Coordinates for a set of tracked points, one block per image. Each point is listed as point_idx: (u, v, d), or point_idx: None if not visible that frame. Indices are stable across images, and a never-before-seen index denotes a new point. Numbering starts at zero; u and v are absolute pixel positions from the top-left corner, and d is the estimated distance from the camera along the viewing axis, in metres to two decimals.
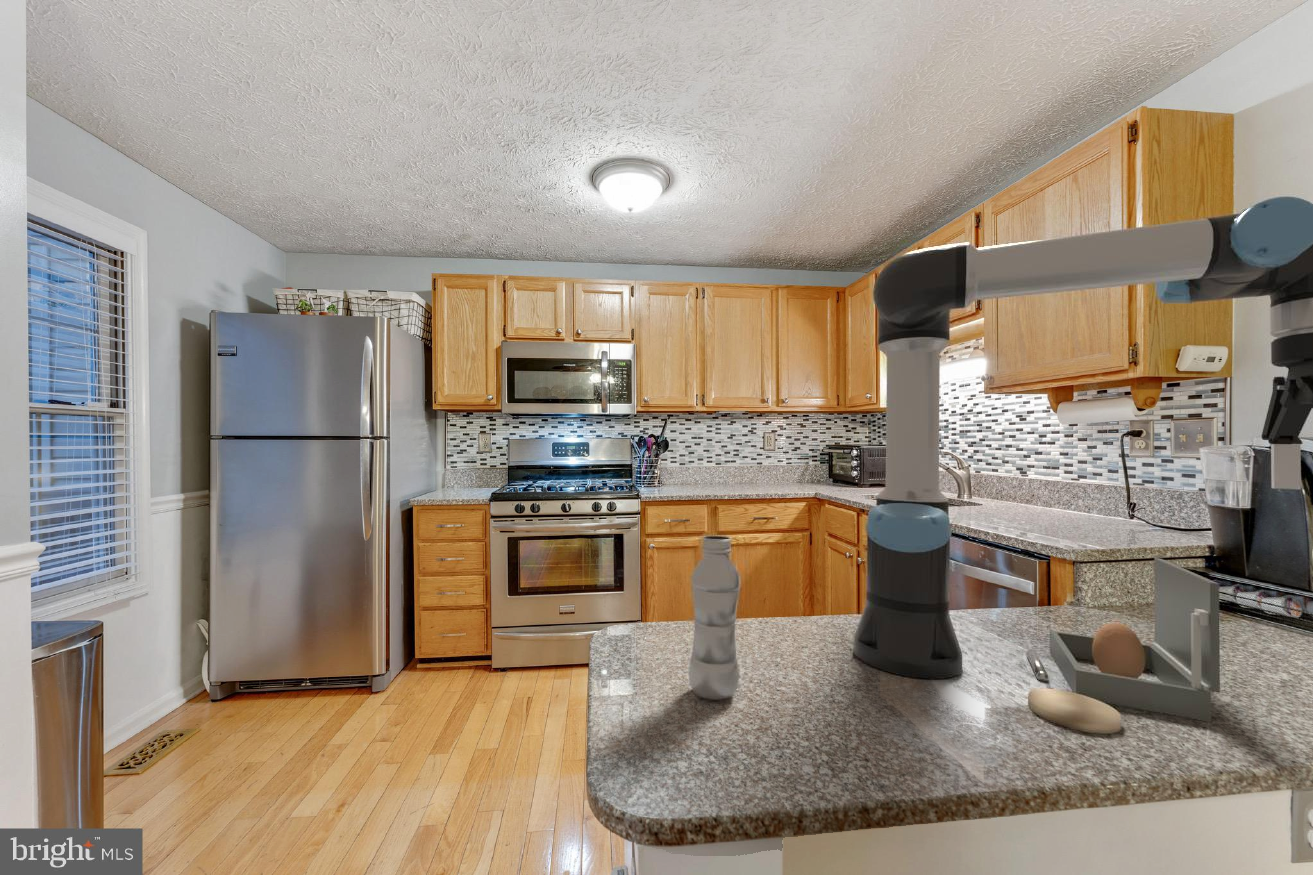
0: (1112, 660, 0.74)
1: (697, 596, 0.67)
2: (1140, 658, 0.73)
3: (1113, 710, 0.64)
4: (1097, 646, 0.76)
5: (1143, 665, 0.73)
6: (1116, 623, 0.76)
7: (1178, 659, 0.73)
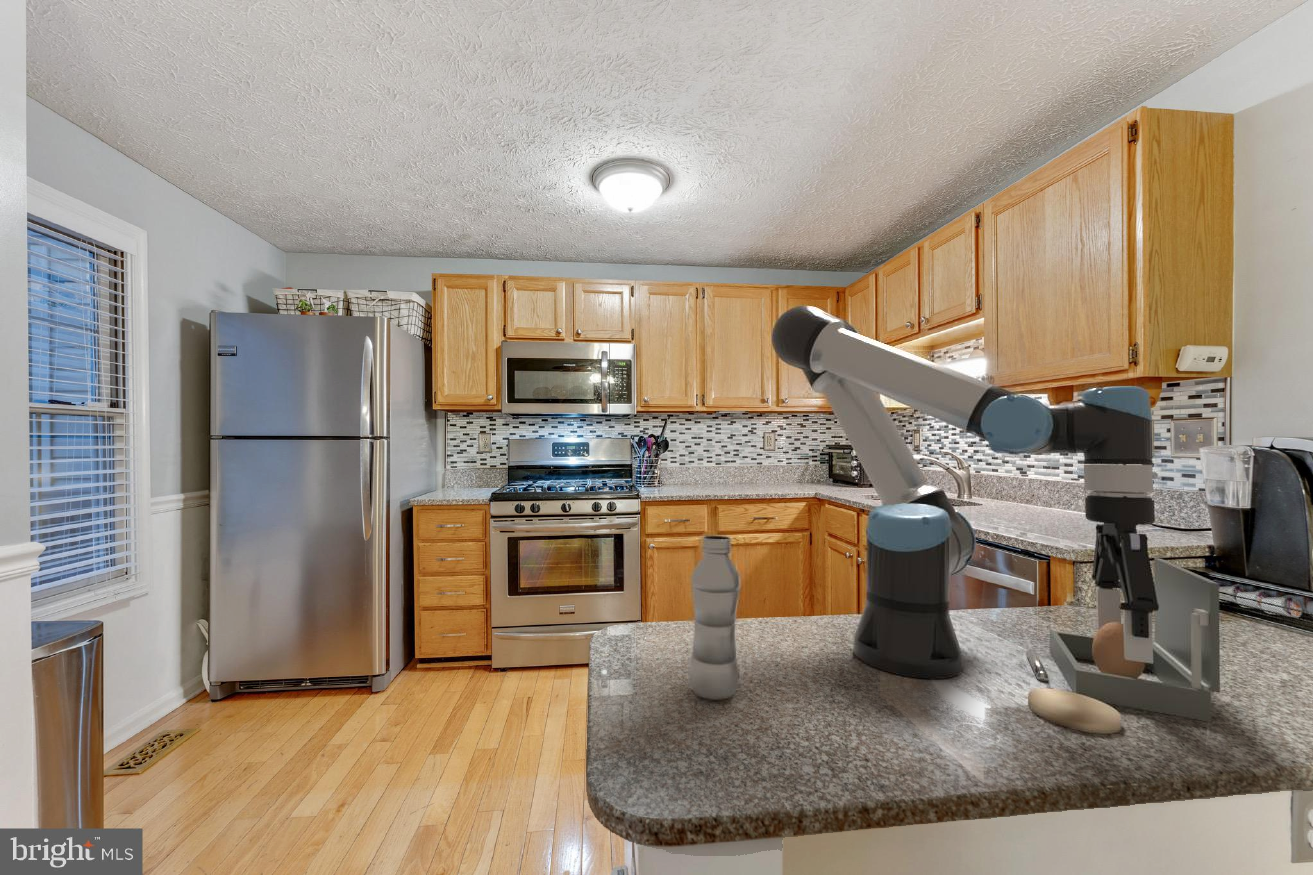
0: (1112, 660, 0.74)
1: (697, 596, 0.67)
2: None
3: (1113, 710, 0.64)
4: (1097, 646, 0.76)
5: (1143, 665, 0.73)
6: (1116, 623, 0.76)
7: (1178, 659, 0.73)
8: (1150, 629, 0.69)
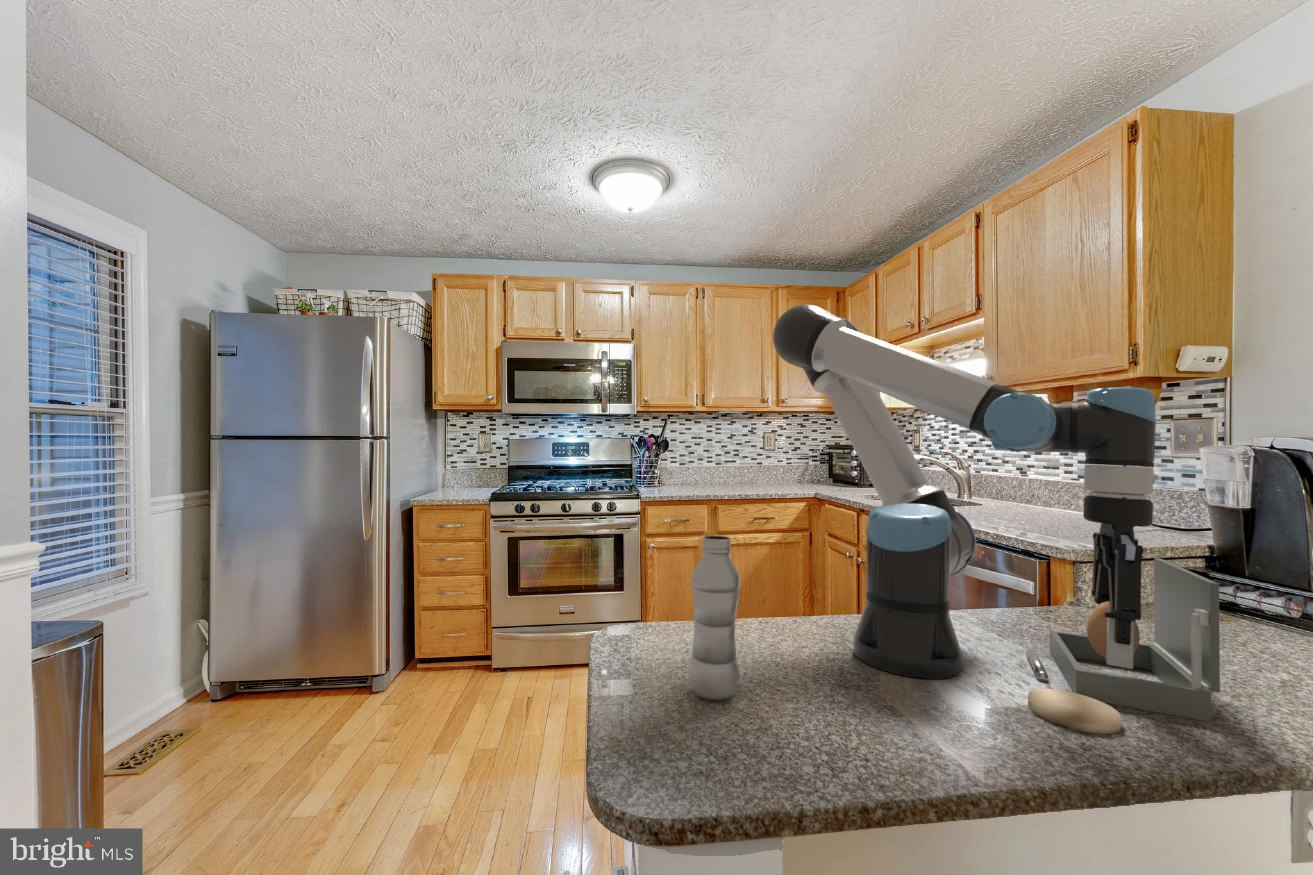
0: (1106, 638, 0.75)
1: (697, 596, 0.67)
2: (1134, 636, 0.74)
3: (1113, 710, 0.64)
4: (1092, 625, 0.77)
5: (1137, 643, 0.74)
6: None
7: (1178, 659, 0.73)
8: (1132, 637, 0.73)
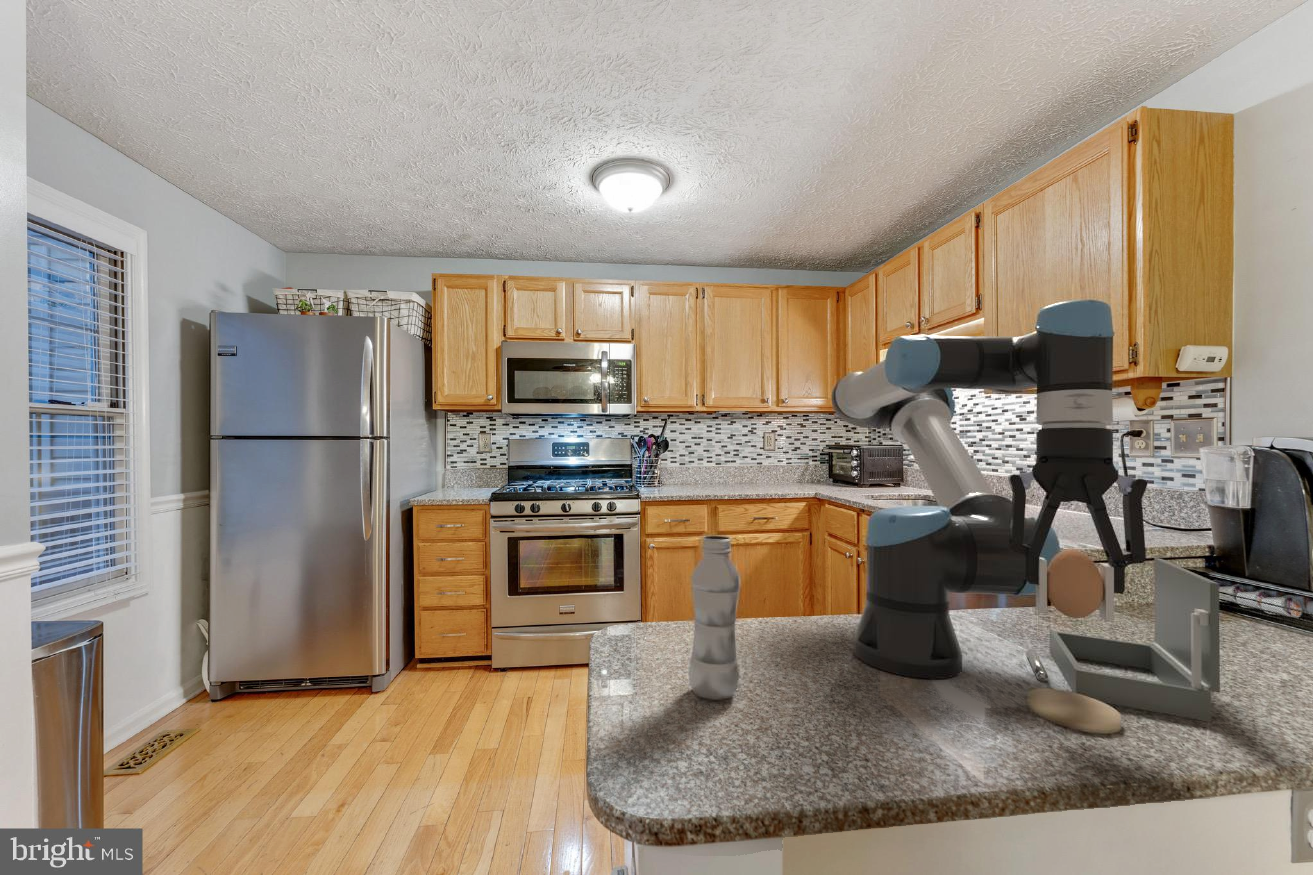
0: None
1: (697, 596, 0.67)
2: (1054, 582, 0.65)
3: (1113, 710, 0.64)
4: None
5: (1061, 592, 0.65)
6: (1069, 549, 0.66)
7: (1178, 659, 0.73)
8: (1039, 578, 0.67)
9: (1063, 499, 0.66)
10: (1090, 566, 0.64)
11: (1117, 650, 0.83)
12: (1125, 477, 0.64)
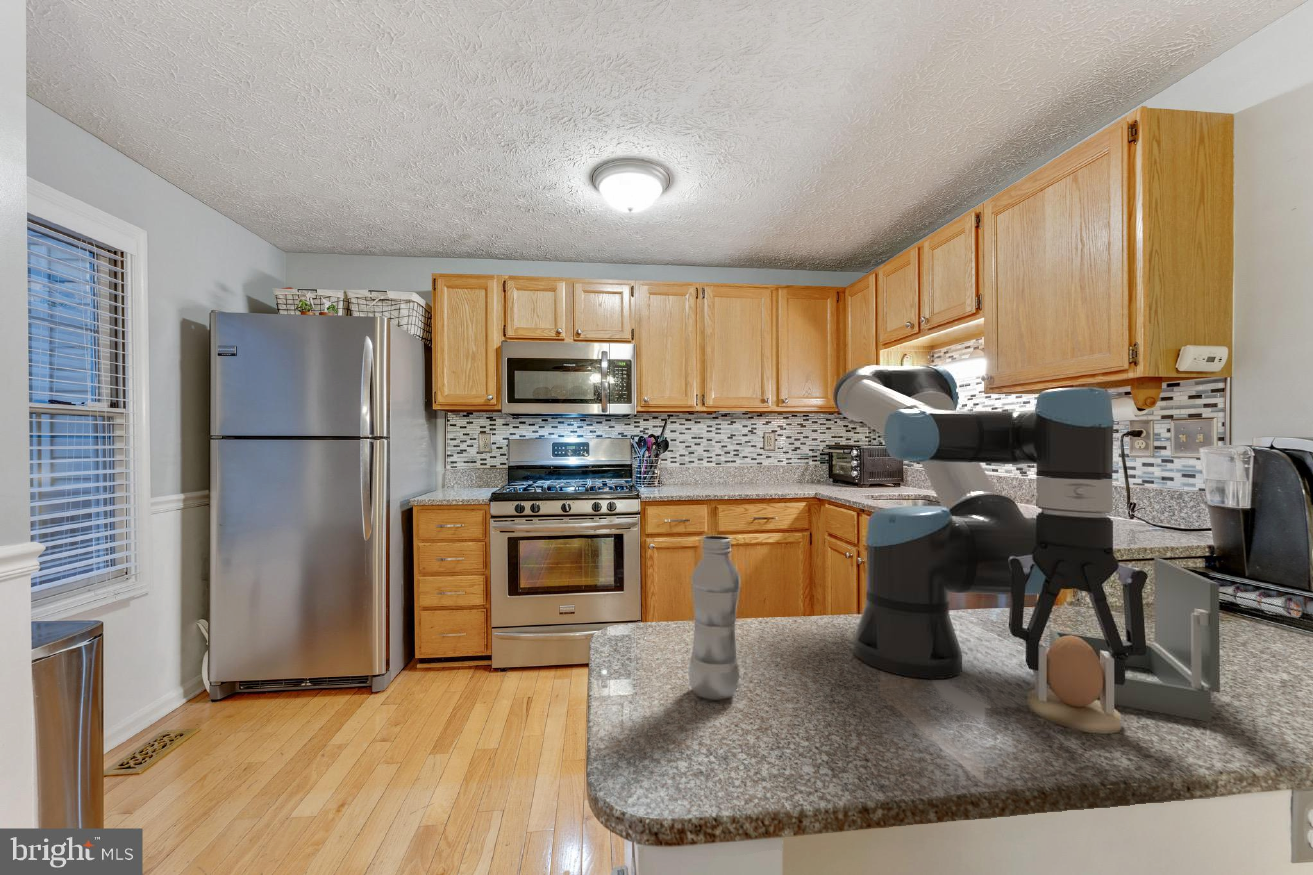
0: None
1: (697, 596, 0.67)
2: (1054, 670, 0.65)
3: None
4: None
5: (1061, 681, 0.64)
6: (1070, 635, 0.66)
7: (1178, 659, 0.73)
8: (1038, 664, 0.66)
9: (1063, 586, 0.66)
10: (1090, 656, 0.64)
11: None
12: (1125, 567, 0.63)
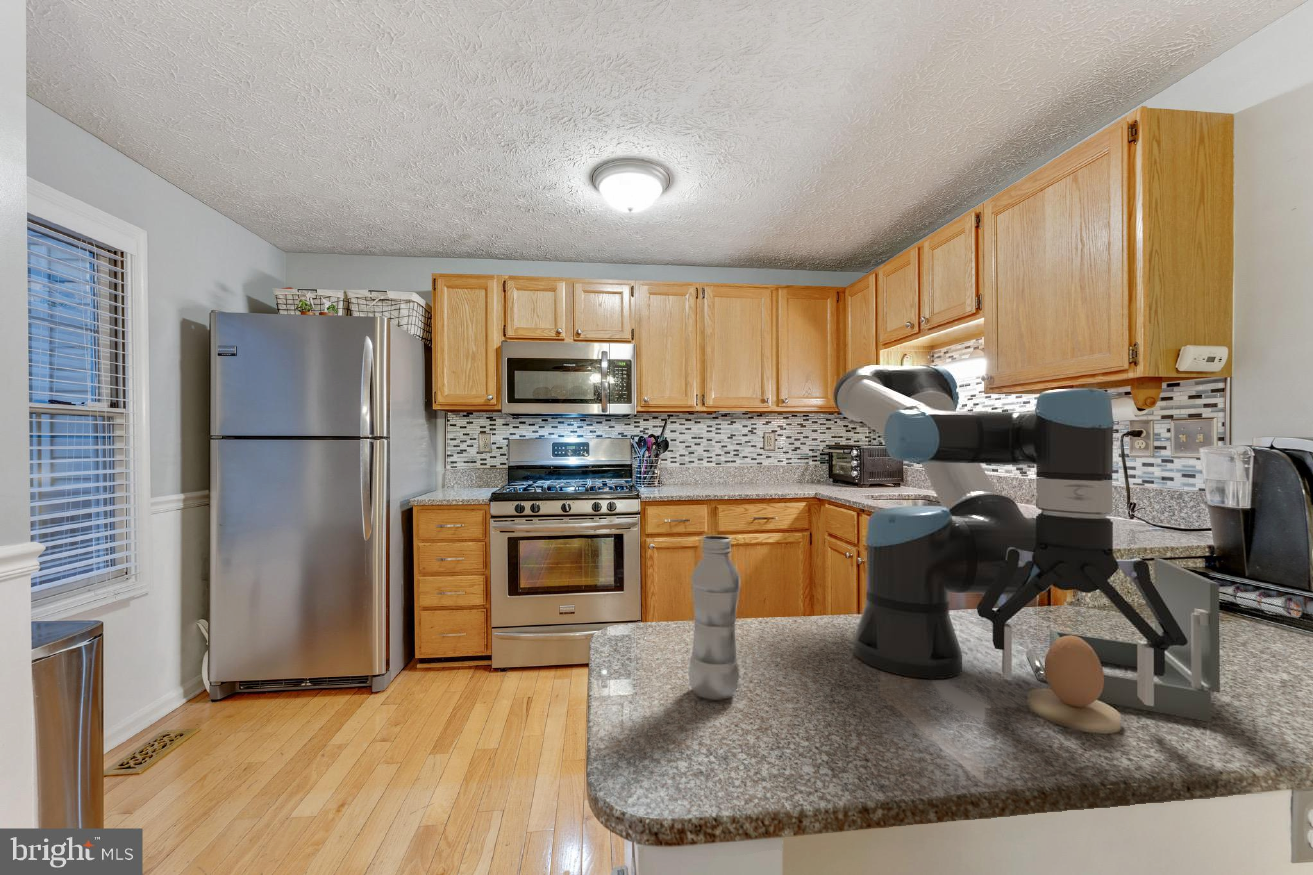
0: None
1: (697, 596, 0.67)
2: (1054, 670, 0.65)
3: (1113, 710, 0.64)
4: None
5: (1061, 681, 0.64)
6: (1070, 635, 0.66)
7: (1178, 659, 0.73)
8: (1004, 644, 0.68)
9: (1052, 584, 0.66)
10: (1090, 656, 0.63)
11: (1117, 650, 0.83)
12: (1124, 561, 0.63)
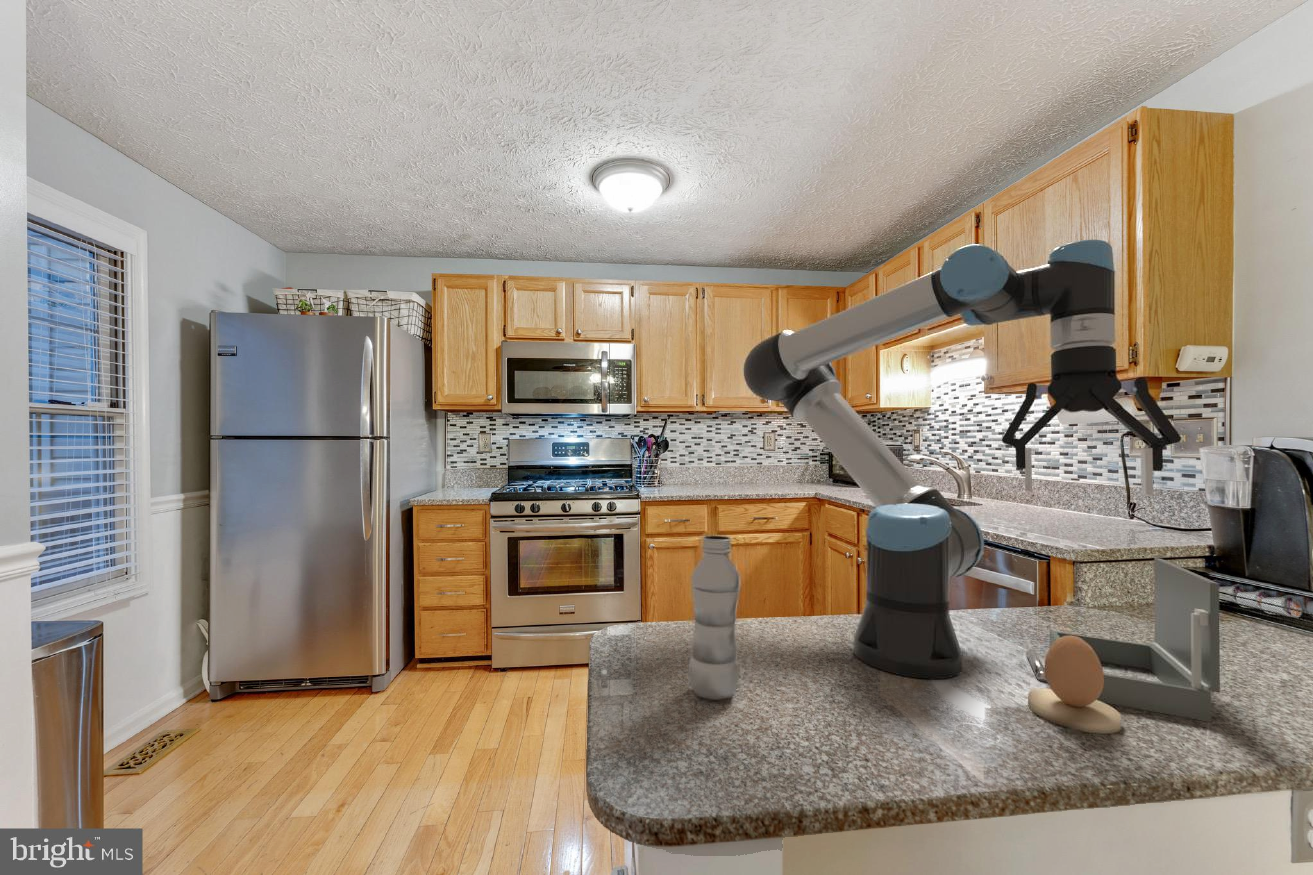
0: None
1: (697, 596, 0.67)
2: (1054, 670, 0.65)
3: (1113, 710, 0.64)
4: None
5: (1061, 681, 0.64)
6: (1070, 635, 0.66)
7: (1178, 659, 0.73)
8: (1025, 462, 0.81)
9: (1065, 408, 0.79)
10: (1090, 656, 0.63)
11: (1117, 650, 0.83)
12: (1127, 381, 0.76)
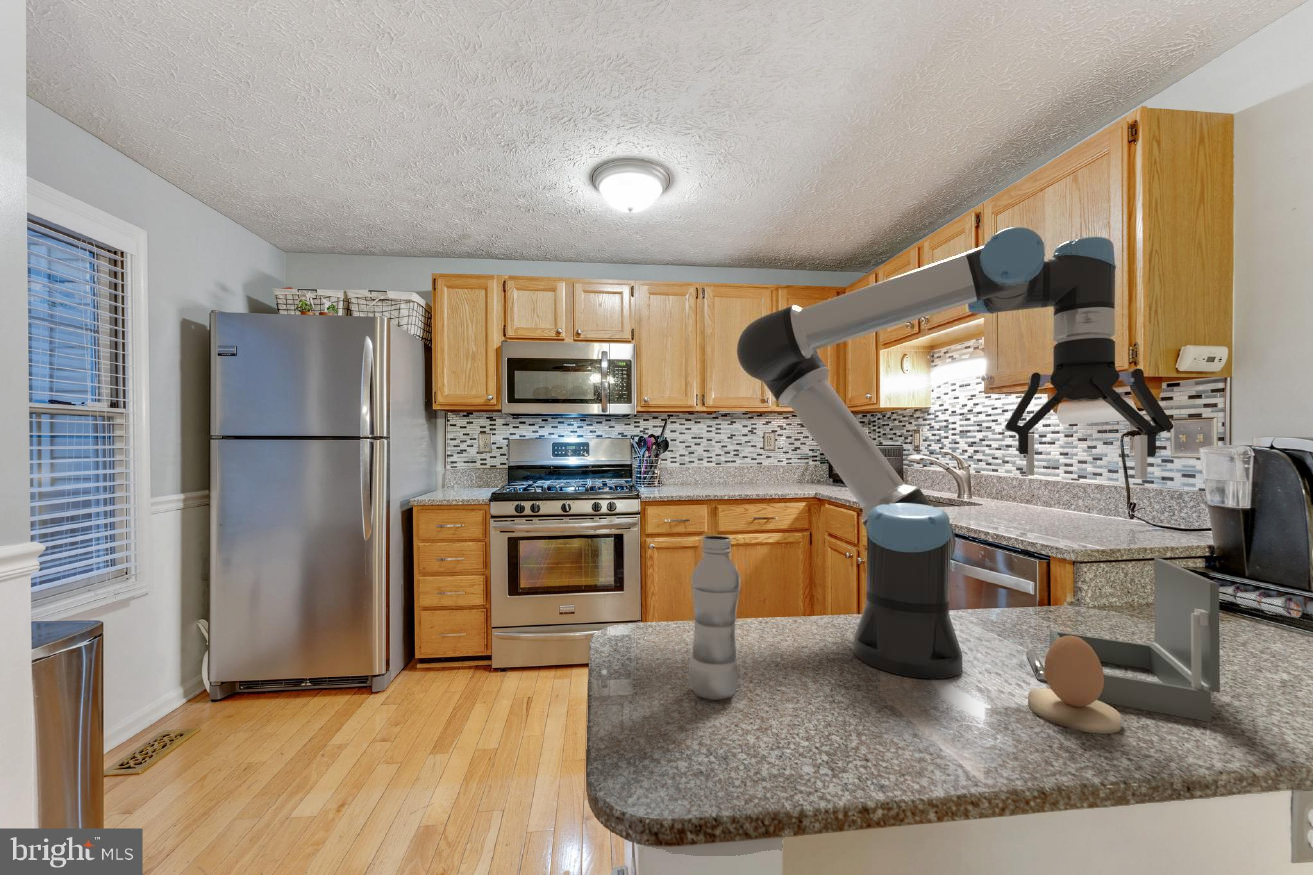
0: None
1: (697, 596, 0.67)
2: (1054, 670, 0.65)
3: (1113, 710, 0.64)
4: None
5: (1061, 681, 0.64)
6: (1070, 635, 0.66)
7: (1178, 659, 0.73)
8: (1028, 448, 0.85)
9: (1067, 396, 0.83)
10: (1090, 656, 0.63)
11: (1117, 650, 0.83)
12: (1124, 372, 0.80)
